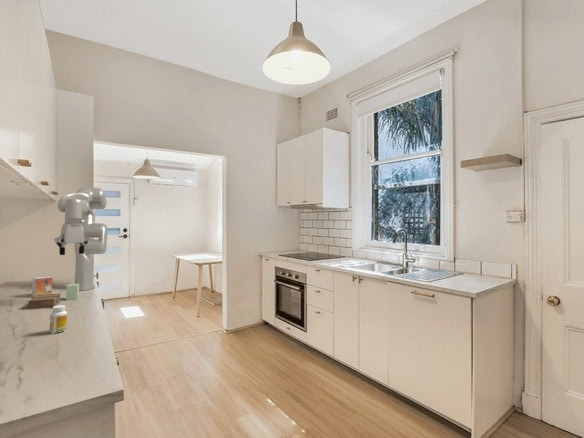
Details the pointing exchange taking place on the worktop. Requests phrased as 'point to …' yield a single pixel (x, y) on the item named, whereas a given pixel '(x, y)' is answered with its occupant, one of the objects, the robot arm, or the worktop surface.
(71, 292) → the sage block
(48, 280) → the small box
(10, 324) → the worktop surface
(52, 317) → the supplement bottle
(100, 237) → the robot arm
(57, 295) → the walnut base
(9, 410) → the worktop surface
